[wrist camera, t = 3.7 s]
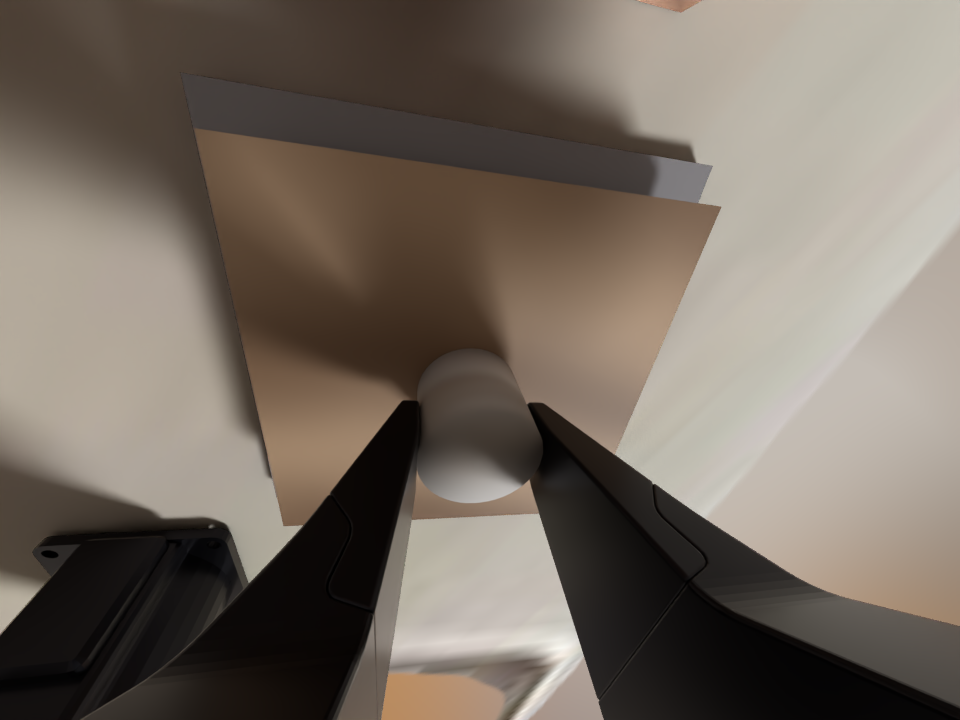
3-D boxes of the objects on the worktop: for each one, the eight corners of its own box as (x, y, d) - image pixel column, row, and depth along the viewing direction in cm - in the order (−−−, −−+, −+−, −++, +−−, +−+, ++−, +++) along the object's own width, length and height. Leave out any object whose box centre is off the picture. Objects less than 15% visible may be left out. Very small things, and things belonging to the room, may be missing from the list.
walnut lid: (578, 486, 14) (624, 580, 11) (295, 495, 12) (250, 615, 9) (687, 201, 9) (833, 224, 6) (226, 133, 7) (63, 109, 4)
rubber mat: (579, 476, 16) (584, 486, 16) (281, 484, 14) (276, 496, 13) (697, 165, 10) (712, 165, 10) (196, 78, 8) (180, 72, 7)
